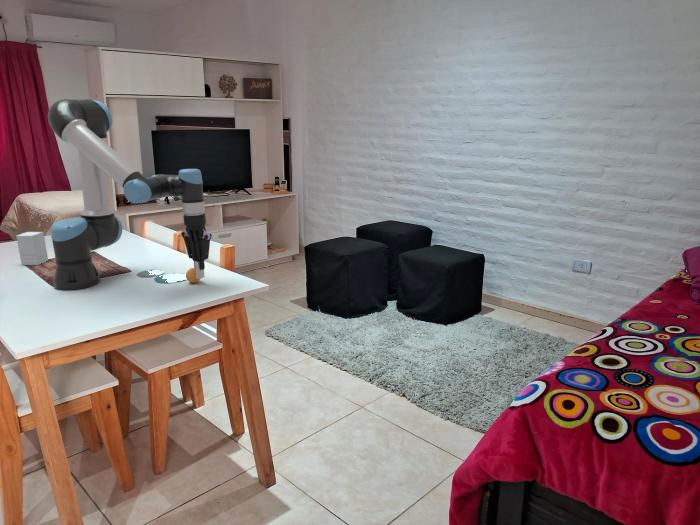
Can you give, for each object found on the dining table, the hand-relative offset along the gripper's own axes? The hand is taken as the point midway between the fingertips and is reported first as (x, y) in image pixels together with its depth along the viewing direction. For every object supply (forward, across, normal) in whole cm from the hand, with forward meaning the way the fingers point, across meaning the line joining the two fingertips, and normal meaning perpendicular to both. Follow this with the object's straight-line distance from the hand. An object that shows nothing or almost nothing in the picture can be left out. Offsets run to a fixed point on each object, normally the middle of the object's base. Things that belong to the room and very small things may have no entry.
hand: (200, 277), depth 195 cm
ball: (0, +3, 0) cm, 3 cm away
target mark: (+2, +15, 0) cm, 15 cm away
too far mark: (+2, +27, 0) cm, 27 cm away
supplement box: (+1, +82, +13) cm, 83 cm away
